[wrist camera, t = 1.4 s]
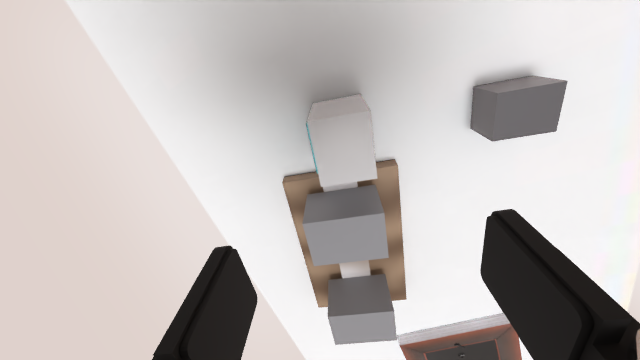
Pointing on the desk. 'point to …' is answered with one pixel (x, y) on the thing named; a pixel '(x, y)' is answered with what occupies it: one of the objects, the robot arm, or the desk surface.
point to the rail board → (391, 267)
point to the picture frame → (464, 341)
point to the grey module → (342, 140)
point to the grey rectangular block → (517, 107)
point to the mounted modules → (350, 246)
